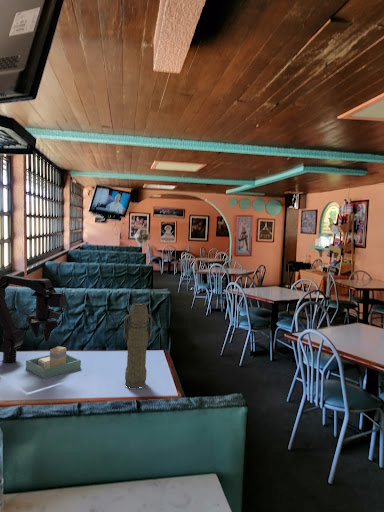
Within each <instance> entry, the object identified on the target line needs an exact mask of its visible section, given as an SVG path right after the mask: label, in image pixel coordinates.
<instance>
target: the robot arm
mask: <svg viewBox="0 0 384 512" xmlns="http://www.w3.org/2000/svg"><path fill="white" fill-rule="evenodd" d="M10 285H13V286H17V287H18V286H19V287H24V288H28V289H30V290H32V291H34V293H31V297H35V307H34V308H33V311H35V313H33V314H28V315H27V316H26V319H25V321H26V322H27V324H28V325H29V327H30V329H31V331H32V333H33V336H34V337H35V338H38V336H39V330H40V329H41V332H42V336H43V338H44V342H49V339H50V335H51V334H52V331H53V330H54V329H56V328H58V327H59V322H58V321H59V320H60V317H61V315H62V314H61V313H60V312H57V311H55V310H54V309H53V308H58V309H63V308H65V306H66V303H67V302H66V301H67V299H66V296H65V294H64V293H63V292H57V291H56V290H55V287H54V286H53V284H52V281H51V280H50V279H48V278H29V277H23V276H18V275H12V274H4V275H2V276H0V324H1V327H2V330H3V334H2V341H3V343H1V344H0V353H2V360H0V362H2V363H3V364H4V363H5V364H11V365H12V364H14V363H17V349H20V348H21V346H22V344H23V342H24V337H25V336H24V335H23V334H24V333H23V331H22V329H21V328H20V329H17V328H16V326H15V325H14V320H13V318H12V315H11V313H10V310H9V307H8V304H7V302H6V294H7V293H6V289H7V288H9V286H10ZM40 325H41V328H40Z"/></svg>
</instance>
